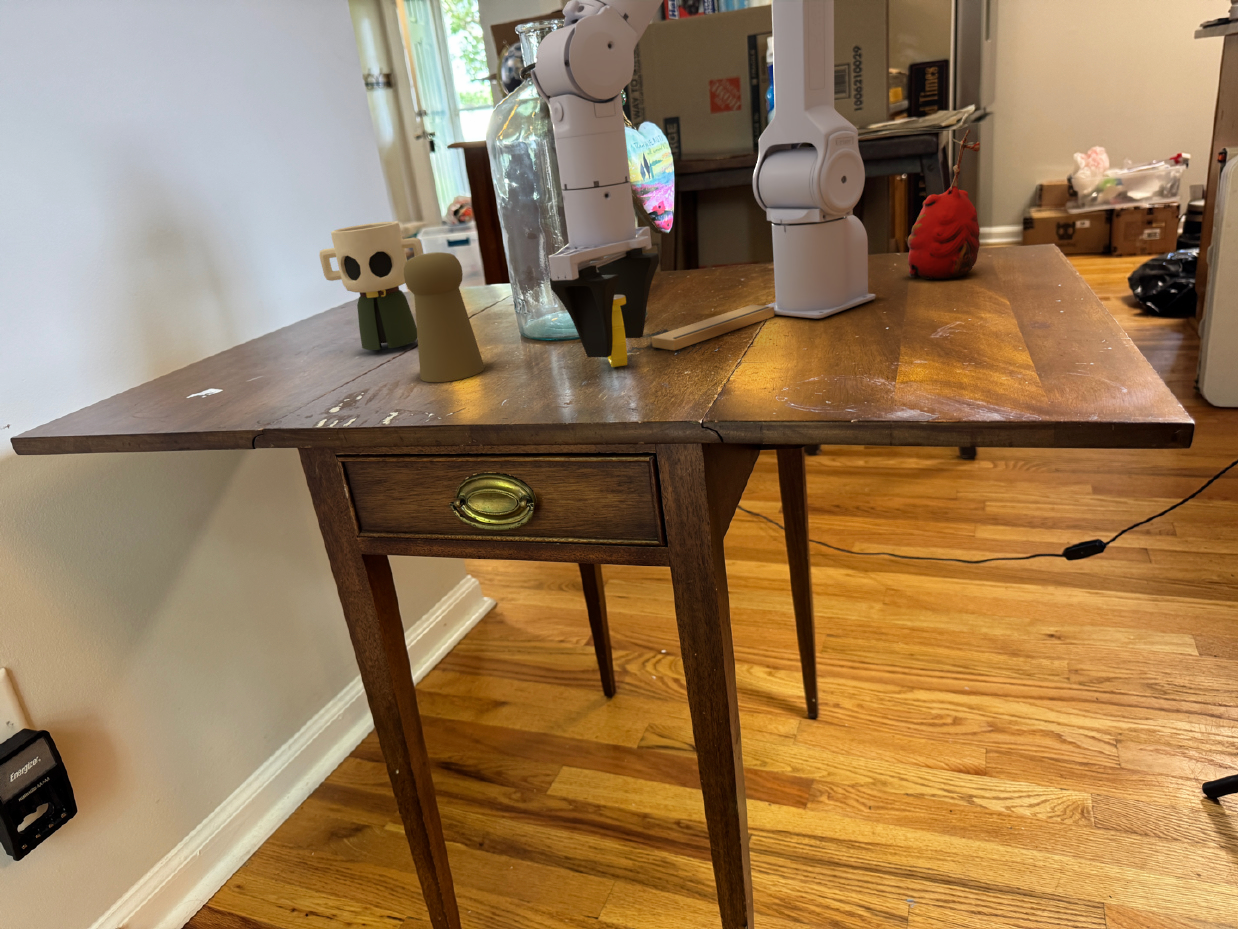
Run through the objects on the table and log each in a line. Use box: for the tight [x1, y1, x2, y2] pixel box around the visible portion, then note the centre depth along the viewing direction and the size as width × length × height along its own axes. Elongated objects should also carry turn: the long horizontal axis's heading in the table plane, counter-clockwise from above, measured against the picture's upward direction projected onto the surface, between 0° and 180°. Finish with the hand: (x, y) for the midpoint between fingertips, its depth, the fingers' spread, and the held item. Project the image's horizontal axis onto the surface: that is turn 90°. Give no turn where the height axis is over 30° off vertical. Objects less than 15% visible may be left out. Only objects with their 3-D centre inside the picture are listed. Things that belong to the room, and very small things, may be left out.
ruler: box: [651, 304, 775, 352], centre depth 82 cm, size 14×3×1 cm, turn 130°
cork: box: [404, 251, 486, 383], centre depth 77 cm, size 6×6×11 cm
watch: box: [607, 295, 628, 368], centre depth 74 cm, size 6×3×6 cm, turn 7°
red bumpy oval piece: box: [907, 128, 981, 281], centre depth 91 cm, size 8×7×15 cm
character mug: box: [318, 221, 424, 351], centre depth 91 cm, size 11×7×13 cm, turn 91°
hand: (615, 346), depth 75 cm, fingers closed on watch, 6 cm apart
